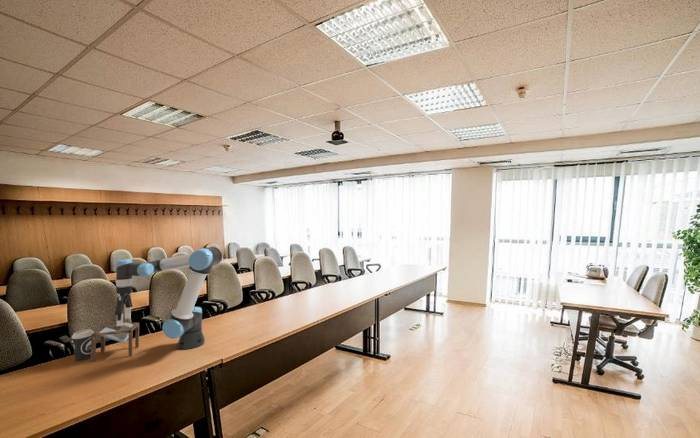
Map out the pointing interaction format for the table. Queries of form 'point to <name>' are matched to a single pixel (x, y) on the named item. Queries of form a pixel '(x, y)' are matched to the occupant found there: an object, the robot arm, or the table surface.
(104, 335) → the hatch
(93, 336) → the hatch frame
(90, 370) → the table surface
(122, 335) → the stone
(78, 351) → the coffee cup
